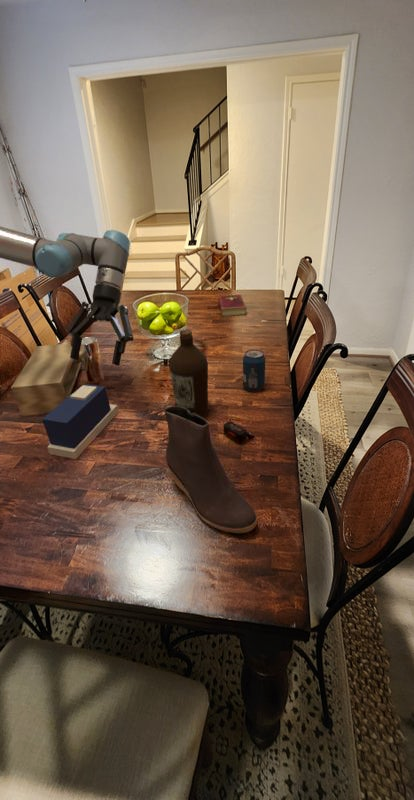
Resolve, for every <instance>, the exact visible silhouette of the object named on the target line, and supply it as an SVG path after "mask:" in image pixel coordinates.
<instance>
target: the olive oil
mask: <svg viewBox="0 0 414 800" xmlns="http://www.w3.org/2000/svg"><path fill="white" fill-rule="evenodd" d="M179 335H180V336H179V342H180V344H179V346H178V347H177V348H176V350H175V351H174V352H173V353H171V354H172V355H171V356H170V359H169V363H168V364H169V365H168V368H169V376H170V379H171V386H172V392H173V393H172V394H173V398H174V406H181V407H184V408H186V409H188V410H189V411H190V412H191V414H192V413H195V414H196V415H199V416H200V417H202V418H204V417H205V416H206V415H207V414H208V412H209V361H208V359H207V356H206V353H204V352H203V351H202V350H201V349H199V348H198V347H197V346H196V345H195V344H194V337H193V336H194V335H193V331H192V330H191V329H186V328H185V329H182V330H179Z"/></svg>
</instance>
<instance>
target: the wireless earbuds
mask: <svg viewBox="0 0 414 800" xmlns="http://www.w3.org/2000/svg"><path fill="white" fill-rule="evenodd" d="M223 435H224V436H225V437H227V438H229V439H231V440H232V441H234V442H235V443H237V444H239V445H242V444H243V443H245V442H246V441H247V439H248V440H251V439H254V438H255V435H253V434H252V433H251V432H250V431H248V430H247V429H246V428H244V427H243V426H240V425H239V424H237V423H236V422H233V421H227V422H225V423H224V424H223Z"/></svg>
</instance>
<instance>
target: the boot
mask: <svg viewBox="0 0 414 800" xmlns="http://www.w3.org/2000/svg"><path fill="white" fill-rule="evenodd" d="M163 412H164V415H165V418H166V422H167V429H168V433H167V434H168V441H167V445H166V450H165V457H166V461H165V462H166V466H167V469H168V470H169V472H170V474H171V476H172V478H173V480H174V483H175V484H176V485H177V487H178V488H179V489H181V491H182V492H183V493H184V494H185V495H186V496H187V497H188V499H189V500H190V501H191V503H192V505H193V508H194V509H195V512H196V513H197V515H198V516H199V518H200V519H201V520H202V521H203V522H204V523H206V524H207V525H209V526H211V527H213V528H215V529H217V530H220V531H223V532H227V533H233V534H244V533H248V532H251V531H253V530H254V529H255V527H256V526H257V524H258V523H257V522H258V517H257V514H256V512H255V510H254V508H253V506H252V505H251V504H250V503H249V502H248V501H247V500H246V499H245V498H244V496H243V495H241V493H240V491H238V489H237V488H236V486H235V485H234V483H233V482H232V481H231V480H230V478H229V477H228V474H227V472H226V471H225V468H224V467H223V464H222V463H221V460H220V458H219V456H218V454H217V452H216V450H215V447H214V445H213V444H212V441H211V440H212V439H211V434H210V425H209V422H208V420H207V419H205V418H204V417H200V416H199V415H196V414H195V413H192V414H191V412H190V411H189V410H188V409H186V408H184V407H181V406H175V405H172V406H168V407H166V408H164V409H163Z"/></svg>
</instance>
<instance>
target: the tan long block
mask: <svg viewBox="0 0 414 800" xmlns="http://www.w3.org/2000/svg"><path fill="white" fill-rule="evenodd" d="M71 350H72V347H71V342H69V343H57V344H47V345H38V346H36V348H35V349H34V351H33V353H32V354H31V355H30V357H29V359H28V360H27V362H26V364H24V367H23V368H22V369H21V371H20V372H19V374H18V376H17V377H16V379H15V381H14V382H13V384H12V385H11V386H10V389H11V393H12V394H13V397H14V400H15V403H16V405H17V407H18V410H19V413H20V416H21V417H28V416H36V415H37V416H38V415H47V414H49V413H50V412H51V411H52V410H53V409H54V408H56V407H57V406H58V405H59V404H60V403H61V402H63V401H64V400H65V399H66V398H67V397H69V396H70V395H71V394H72V393H73V389H74V386H75V383H76V381H77V377H78V375H79V372H80V371H81V370H82V371H83V370H84V367H83V365H82V363H81V360H80V357H79V358H78V360H75V359H72V358H70V355H71Z"/></svg>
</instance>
